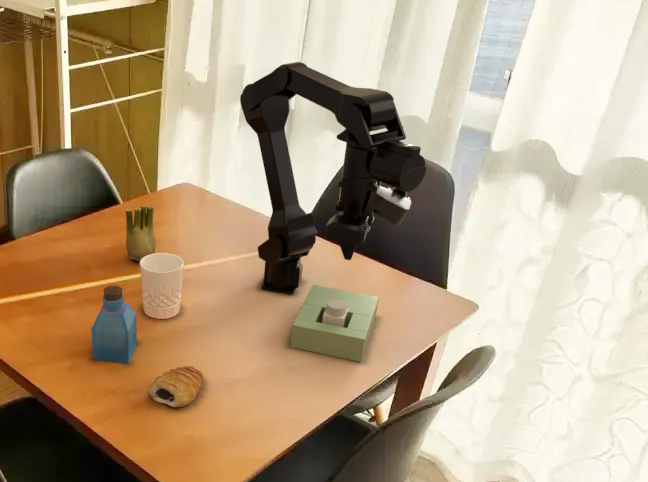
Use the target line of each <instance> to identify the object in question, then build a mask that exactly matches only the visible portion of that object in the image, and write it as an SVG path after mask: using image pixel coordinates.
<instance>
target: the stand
mask: <svg viewBox="0 0 648 482" xmlns="http://www.w3.org/2000/svg"><path fill="white" fill-rule="evenodd" d="M331 299H340V300H343V301H345V302H346V303H347V309H348V314H347V321H346V327H345V328H344V327H339V326H334V325H329V324H324V323H322V320H323V314H324V312H325V310H326V305H327V301H328V300H331ZM379 299H380V297H379V296H377V295H372V294H371V295H370V294H366V293H359V292H354V291H349V290H344V289H339V288H333V287H327V286H322V285H317V284H316V285H315V284H312V286H311V288H310V290H309V292H308V293H307V295H306V298H305V299H304V302H303V304H302V305H301V307H300V310H299V311H298V314H297V316H296V317H295V320H294V321H293V324H292V326H291V327H292V328H291V336H290V343H289V344H290V348H291V349H292V348H293V349H297V350H301V351H307V352H311V353H316V354H320V355H321V354H322V355H325V356H331V357H334V358H339V359H343V360H344V359H345V360H349V361H354V362H360V363H361V362H362V360H363V357H364V354H365V351H366V348H367V345H368V342H369V339H370V336H371V333H372V330H373V326H374V323H375V320H376V317H377V312H378V306H379Z"/></svg>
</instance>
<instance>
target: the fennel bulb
mask: <svg viewBox="0 0 648 482" xmlns="http://www.w3.org/2000/svg"><path fill="white" fill-rule="evenodd" d="M154 209H155V207H154V206H152V205H147V206H146V205H144V204H141V205H140V207H139V206H138V207H136V208H134V214H133V210H132V209H131V208H126V209H125V219H126V220H125V221H126V228H125V229H126V234H125V235H126V236H125V246H126V251H127V255H128V257H129V256H130V257H132V258H130V257H129V259H130V260H131V261H135V262H138V263H140V260H141V259H142V258H143V257H145V256H147V255H150V254H154V253H156V244H157V243H156V235H155V229H154ZM133 215H134V216H133ZM133 258H134V259H133ZM137 259H138V260H137Z"/></svg>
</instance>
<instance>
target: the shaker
mask: <svg viewBox="0 0 648 482" xmlns="http://www.w3.org/2000/svg"><path fill="white" fill-rule="evenodd" d="M347 314H348V309H347V303H346V302H345V301H343V300H340V299H331V300H328V301H327V305H326V310H325V312H324V314H323V320H322V323H324V324H329V325H334V326H339V327H344V328H345V327H346V321H347Z"/></svg>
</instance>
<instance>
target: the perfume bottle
mask: <svg viewBox="0 0 648 482" xmlns="http://www.w3.org/2000/svg"><path fill="white" fill-rule="evenodd" d="M102 291H103V292H102V293H103V295H102V306H101V308H100V309H99V312H98V313H97V316H96V318H95V320H94V322H93V324H92V326H91V329H90V331H91V347H92V348H91V349H92V360H93V361H100V362H108V363H116V364H117V363H118V364H119V363H120V364H127V365H129V364H130V363H131V360H132V357H133V354H134V352H135V350H136V347H137V345H138V335H137V334H138V333H137V312H136V310H134V308H133V307H132V306H131V304H130V303H128V302H125V295H124V294H123V288H122V287H121V286H119V285H108V286H106V287H104V288H103V290H102Z"/></svg>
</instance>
